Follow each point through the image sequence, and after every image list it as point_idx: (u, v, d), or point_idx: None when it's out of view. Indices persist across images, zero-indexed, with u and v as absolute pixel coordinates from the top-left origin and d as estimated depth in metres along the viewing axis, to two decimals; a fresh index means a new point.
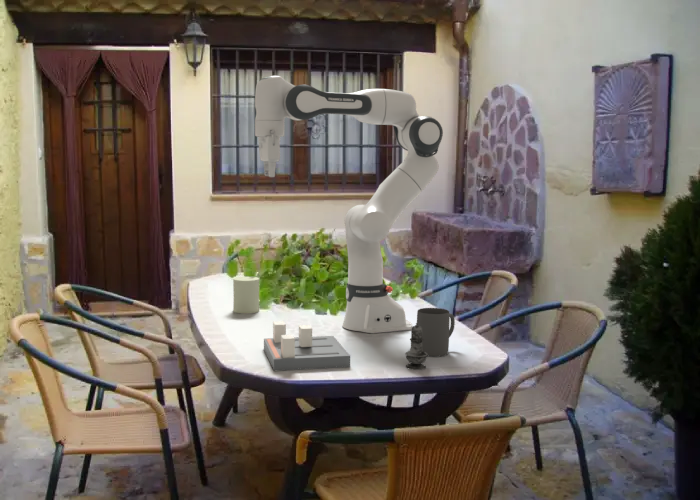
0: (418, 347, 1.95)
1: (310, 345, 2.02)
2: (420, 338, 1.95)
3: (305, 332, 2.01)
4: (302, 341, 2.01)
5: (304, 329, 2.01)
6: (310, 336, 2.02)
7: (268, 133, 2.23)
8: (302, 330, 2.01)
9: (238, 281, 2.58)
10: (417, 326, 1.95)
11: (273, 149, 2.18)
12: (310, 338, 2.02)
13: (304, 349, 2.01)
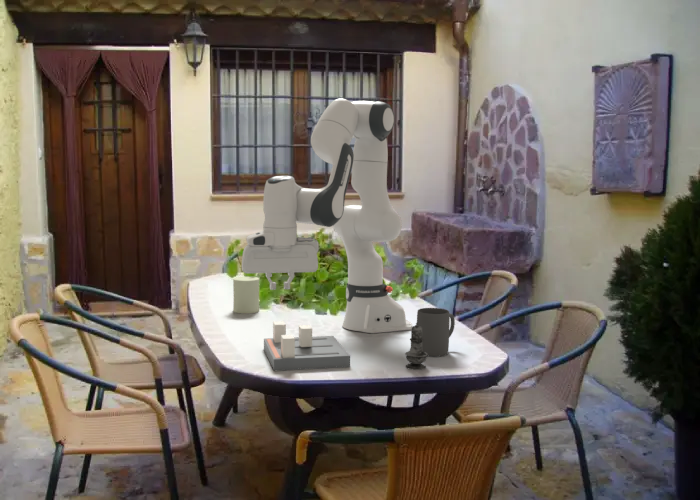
0: (418, 347, 1.95)
1: (310, 345, 2.02)
2: (420, 338, 1.95)
3: (305, 332, 2.01)
4: (302, 341, 2.01)
5: (304, 329, 2.01)
6: (310, 336, 2.02)
7: (296, 241, 1.99)
8: (302, 330, 2.01)
9: (238, 281, 2.58)
10: (417, 326, 1.95)
11: None
12: (310, 338, 2.02)
13: (304, 349, 2.01)
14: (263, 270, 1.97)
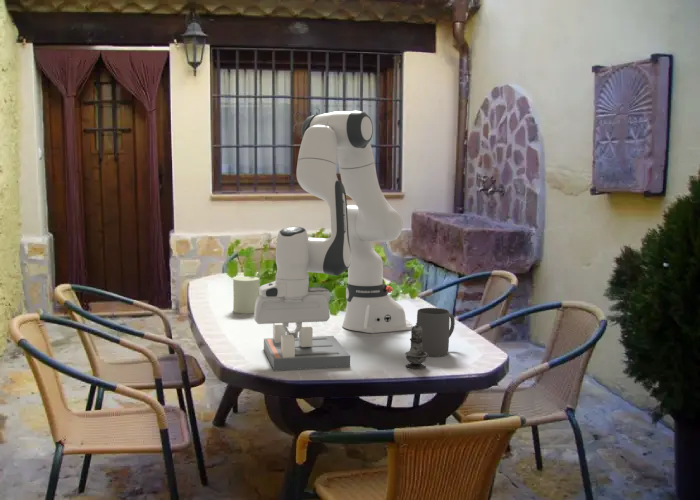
0: (418, 347, 1.95)
1: (310, 345, 2.02)
2: (420, 338, 1.95)
3: (305, 332, 2.01)
4: (302, 341, 2.01)
5: (304, 329, 2.01)
6: (310, 336, 2.02)
7: (308, 291, 2.01)
8: (302, 330, 2.01)
9: (238, 281, 2.58)
10: (417, 326, 1.95)
11: None
12: (310, 338, 2.02)
13: (304, 349, 2.01)
14: (275, 321, 2.00)
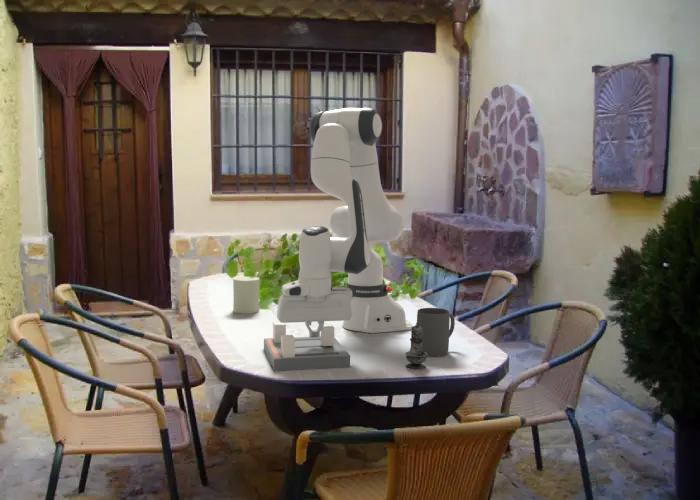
0: (418, 347, 1.95)
1: (332, 344, 2.03)
2: (420, 338, 1.95)
3: (327, 331, 2.03)
4: (324, 340, 2.03)
5: (326, 328, 2.03)
6: (332, 335, 2.03)
7: (331, 290, 2.03)
8: (324, 329, 2.02)
9: (238, 281, 2.58)
10: (417, 326, 1.95)
11: None
12: (332, 337, 2.03)
13: (304, 349, 2.01)
14: (298, 319, 2.01)
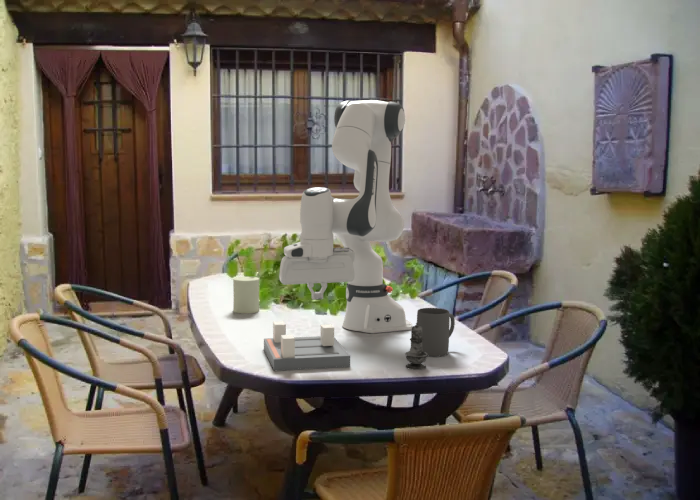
0: (418, 347, 1.95)
1: (332, 344, 2.03)
2: (420, 338, 1.95)
3: (327, 331, 2.03)
4: (324, 340, 2.03)
5: (326, 328, 2.03)
6: (332, 335, 2.03)
7: (333, 251, 2.02)
8: (324, 329, 2.02)
9: (238, 281, 2.58)
10: (417, 326, 1.95)
11: None
12: (332, 337, 2.03)
13: (304, 349, 2.01)
14: (301, 281, 2.00)
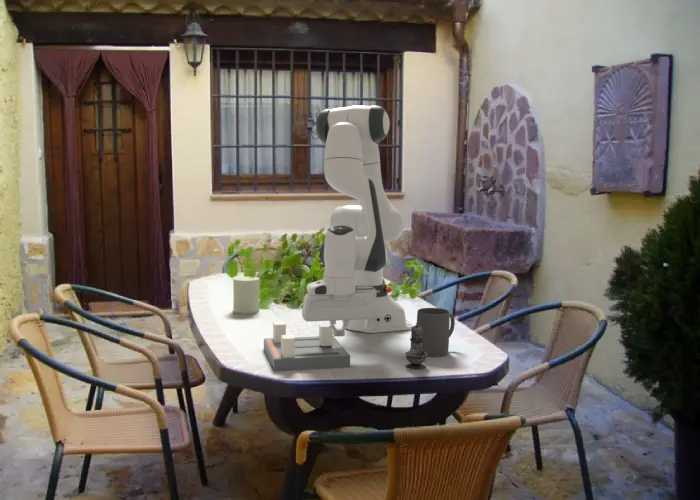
0: (418, 347, 1.95)
1: (331, 344, 2.03)
2: (420, 338, 1.95)
3: (326, 332, 2.03)
4: (323, 340, 2.03)
5: (325, 328, 2.03)
6: (331, 335, 2.03)
7: (355, 289, 2.04)
8: (323, 329, 2.02)
9: (238, 281, 2.59)
10: (417, 326, 1.95)
11: None
12: (331, 337, 2.03)
13: (304, 349, 2.01)
14: (323, 318, 2.02)
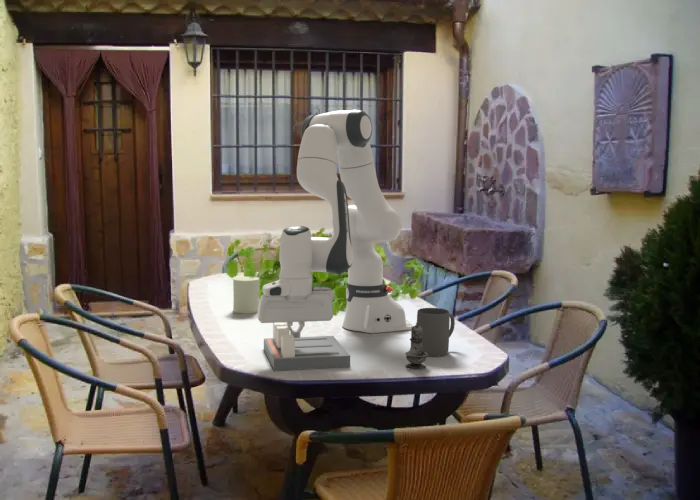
0: (418, 347, 1.95)
1: None
2: (420, 338, 1.95)
3: (282, 333, 2.00)
4: (279, 342, 2.00)
5: (281, 330, 2.00)
6: None
7: (311, 290, 2.01)
8: (279, 331, 2.00)
9: (238, 281, 2.58)
10: (417, 326, 1.95)
11: None
12: None
13: (304, 349, 2.01)
14: (279, 320, 1.99)
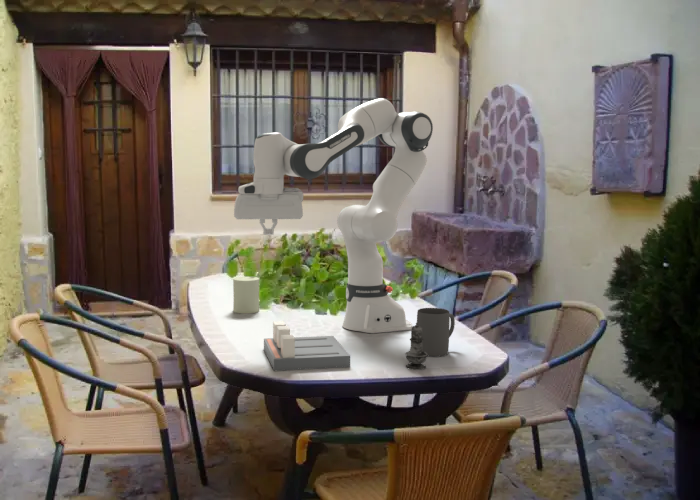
0: (418, 347, 1.95)
1: None
2: (420, 338, 1.95)
3: (283, 333, 2.00)
4: (280, 342, 2.00)
5: (282, 330, 2.00)
6: None
7: None
8: (280, 331, 2.00)
9: (238, 281, 2.58)
10: (417, 326, 1.95)
11: None
12: None
13: (304, 349, 2.01)
14: (253, 216, 2.19)
